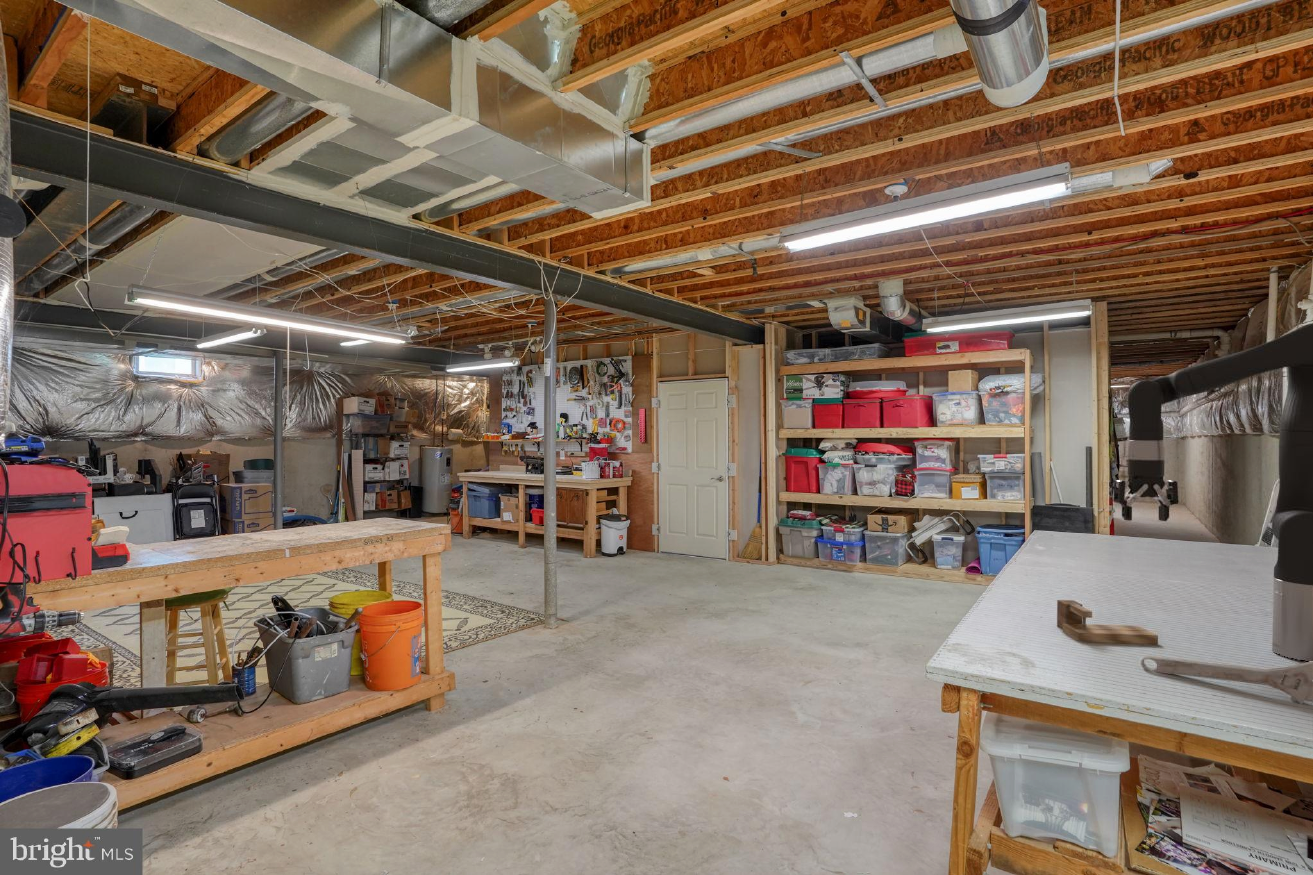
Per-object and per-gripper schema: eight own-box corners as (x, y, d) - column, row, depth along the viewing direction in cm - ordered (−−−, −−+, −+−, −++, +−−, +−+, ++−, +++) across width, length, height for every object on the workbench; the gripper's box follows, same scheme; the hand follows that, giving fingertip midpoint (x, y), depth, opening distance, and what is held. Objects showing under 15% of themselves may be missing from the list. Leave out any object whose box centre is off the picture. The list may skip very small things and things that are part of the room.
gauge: (1073, 627, 163) (1073, 600, 163) (1096, 640, 153) (1096, 611, 153) (1057, 626, 164) (1057, 599, 164) (1078, 639, 154) (1079, 611, 154)
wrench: (1144, 680, 136) (1348, 708, 115) (1143, 683, 135) (1349, 711, 114) (1139, 643, 137) (1342, 664, 116) (1138, 645, 136) (1342, 666, 114)
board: (1138, 634, 157) (1138, 625, 157) (1157, 644, 150) (1158, 634, 150) (1062, 632, 159) (1062, 623, 159) (1078, 641, 152) (1078, 632, 152)
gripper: (1126, 458, 159) (1125, 522, 159) (1186, 458, 158) (1185, 523, 158) (1107, 457, 166) (1107, 518, 167) (1165, 457, 165) (1164, 518, 165)
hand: (1145, 520), depth 162 cm, fingers open, 8 cm apart
